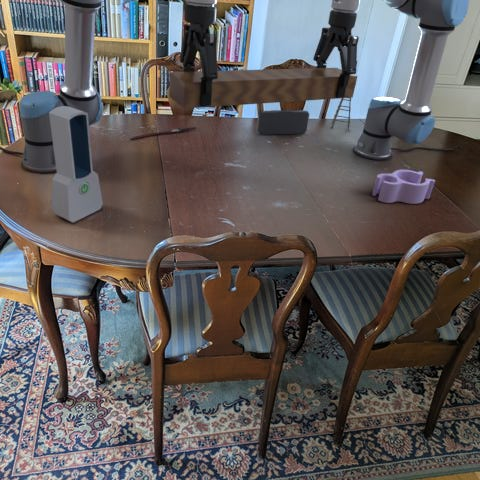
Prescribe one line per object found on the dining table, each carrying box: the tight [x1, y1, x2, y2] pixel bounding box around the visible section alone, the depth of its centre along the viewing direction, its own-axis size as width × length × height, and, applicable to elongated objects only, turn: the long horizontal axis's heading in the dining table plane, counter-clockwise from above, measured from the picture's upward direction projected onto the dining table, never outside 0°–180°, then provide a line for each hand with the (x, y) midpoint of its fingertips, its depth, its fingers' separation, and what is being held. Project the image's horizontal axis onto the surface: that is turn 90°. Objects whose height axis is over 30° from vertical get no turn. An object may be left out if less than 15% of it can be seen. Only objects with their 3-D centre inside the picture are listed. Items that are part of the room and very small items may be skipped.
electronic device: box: [49, 106, 104, 224], centre depth 127 cm, size 12×8×30 cm, turn 148°
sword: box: [130, 126, 197, 141], centre depth 193 cm, size 31×3×1 cm, turn 126°
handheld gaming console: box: [257, 109, 310, 136], centre depth 204 cm, size 23×3×10 cm, turn 108°
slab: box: [168, 67, 358, 109], centre depth 130 cm, size 55×10×6 cm, turn 119°
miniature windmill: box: [331, 63, 358, 131], centre depth 214 cm, size 9×8×30 cm
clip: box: [371, 169, 436, 205], centre depth 162 cm, size 20×12×7 cm, turn 109°
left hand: (196, 99), depth 121 cm, fingers closed on slab, 10 cm apart
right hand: (328, 91), depth 141 cm, fingers closed on slab, 10 cm apart
